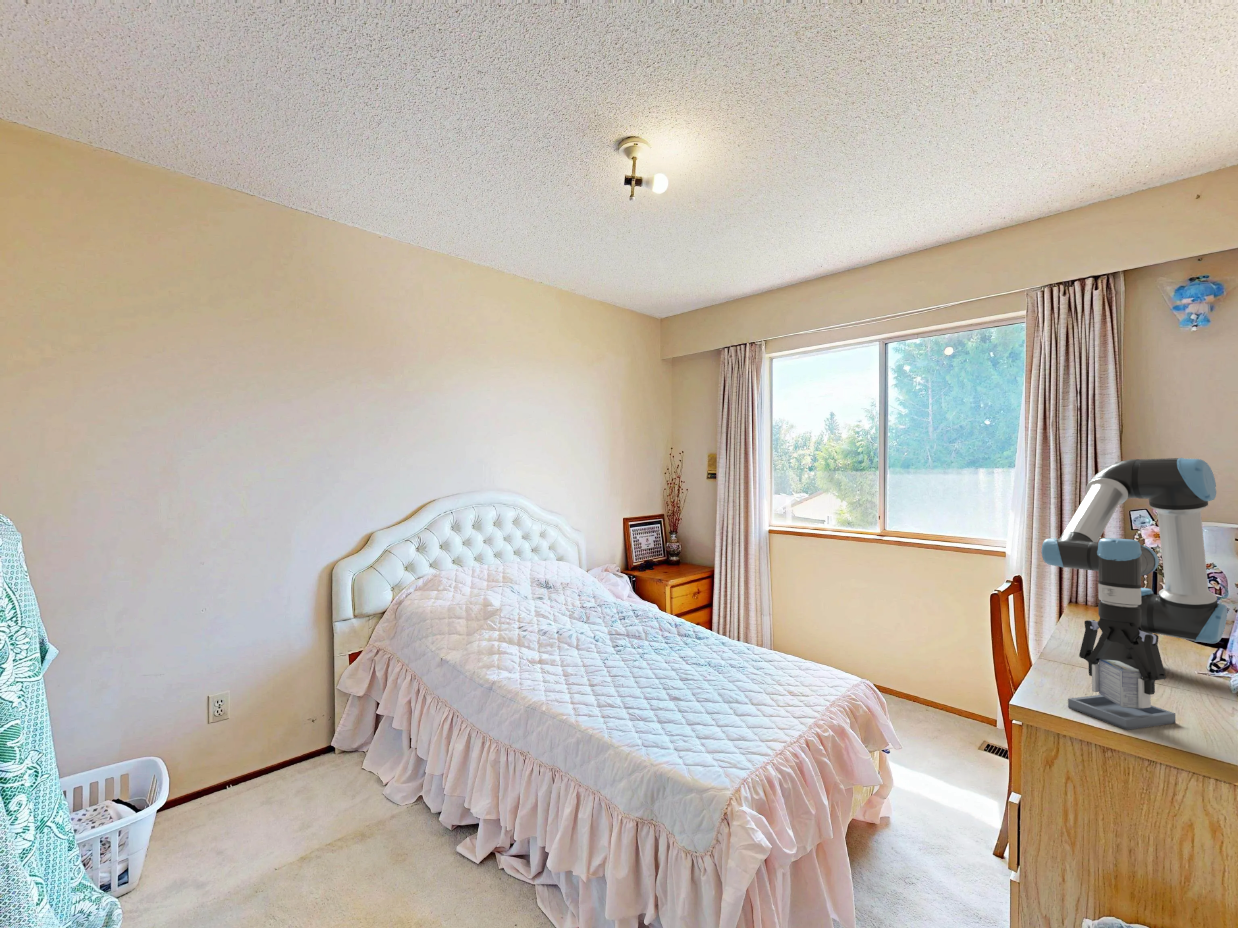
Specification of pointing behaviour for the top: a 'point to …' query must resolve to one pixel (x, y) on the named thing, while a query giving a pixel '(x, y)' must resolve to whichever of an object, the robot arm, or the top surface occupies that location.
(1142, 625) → the robot arm
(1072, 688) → the top surface
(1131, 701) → the medicine box
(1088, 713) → the tray
